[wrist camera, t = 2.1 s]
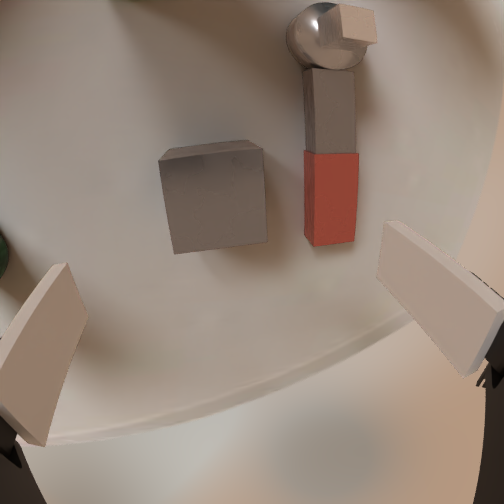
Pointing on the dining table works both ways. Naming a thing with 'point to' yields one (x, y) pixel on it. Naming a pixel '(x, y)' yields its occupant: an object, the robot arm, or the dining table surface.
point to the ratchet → (330, 114)
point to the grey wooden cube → (214, 195)
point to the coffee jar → (3, 256)
